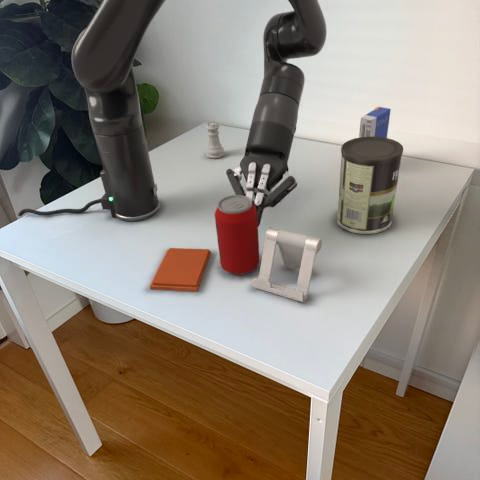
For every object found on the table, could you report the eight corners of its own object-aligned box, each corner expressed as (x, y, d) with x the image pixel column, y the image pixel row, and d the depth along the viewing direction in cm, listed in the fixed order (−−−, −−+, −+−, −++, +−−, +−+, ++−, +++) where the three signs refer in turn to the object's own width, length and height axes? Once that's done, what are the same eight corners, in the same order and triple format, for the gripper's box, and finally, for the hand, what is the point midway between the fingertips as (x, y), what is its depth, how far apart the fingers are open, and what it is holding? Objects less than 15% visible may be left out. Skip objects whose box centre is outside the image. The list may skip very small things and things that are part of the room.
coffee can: (391, 207, 94) (402, 135, 85) (392, 236, 86) (405, 160, 77) (337, 206, 96) (342, 135, 87) (334, 233, 89) (339, 159, 79)
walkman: (373, 158, 111) (379, 104, 103) (383, 161, 110) (391, 107, 102) (354, 171, 107) (359, 116, 99) (365, 174, 106) (371, 118, 98)
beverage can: (241, 250, 86) (236, 188, 78) (268, 265, 82) (265, 201, 74) (212, 266, 83) (204, 204, 75) (238, 282, 79) (232, 218, 71)
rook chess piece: (228, 153, 119) (225, 120, 114) (218, 160, 117) (214, 127, 111) (213, 150, 121) (209, 118, 116) (203, 157, 119) (199, 124, 113)
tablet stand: (253, 290, 77) (250, 246, 72) (276, 264, 82) (275, 221, 77) (302, 305, 74) (303, 259, 68) (322, 277, 79) (325, 233, 73)
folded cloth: (150, 289, 80) (149, 283, 79) (168, 252, 88) (167, 246, 87) (197, 291, 78) (196, 285, 77) (211, 253, 86) (210, 248, 85)
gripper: (229, 116, 80) (206, 217, 81) (305, 121, 76) (280, 228, 76) (244, 135, 88) (222, 228, 88) (314, 141, 83) (291, 239, 83)
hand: (249, 228), depth 82 cm, fingers closed
